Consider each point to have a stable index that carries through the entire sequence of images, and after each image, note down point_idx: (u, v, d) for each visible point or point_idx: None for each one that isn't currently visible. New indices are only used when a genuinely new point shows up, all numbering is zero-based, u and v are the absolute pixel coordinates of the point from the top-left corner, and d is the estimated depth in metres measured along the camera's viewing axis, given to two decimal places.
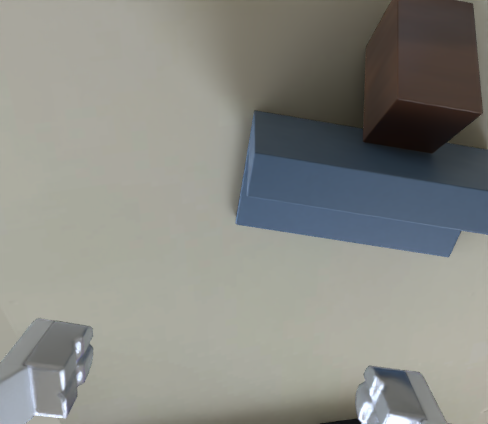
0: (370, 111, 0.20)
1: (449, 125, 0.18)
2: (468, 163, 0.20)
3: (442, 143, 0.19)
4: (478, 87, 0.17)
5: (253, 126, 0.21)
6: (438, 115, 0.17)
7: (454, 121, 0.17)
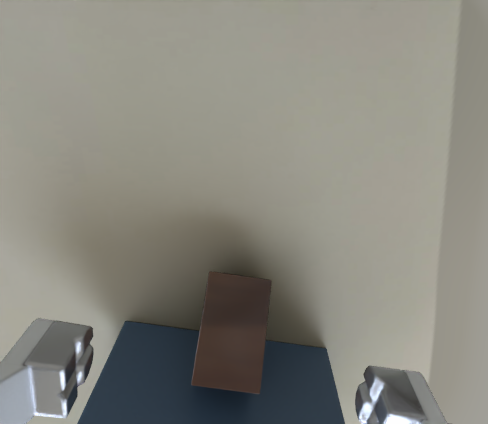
0: None
1: None
2: (276, 400, 0.24)
3: None
4: (260, 367, 0.22)
5: (107, 361, 0.25)
6: None
7: None
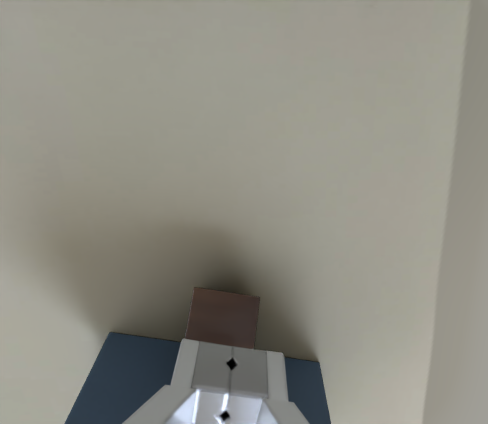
0: None
1: None
2: None
3: None
4: None
5: None
6: None
7: None
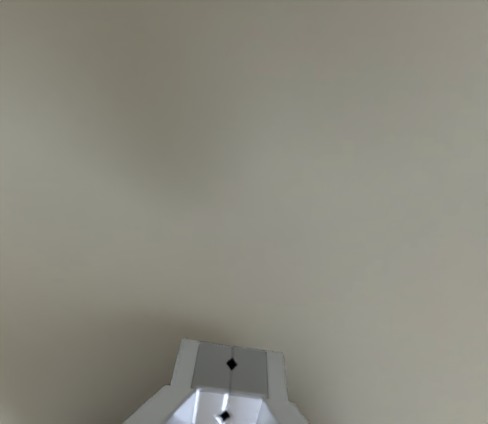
0: None
1: None
2: None
3: None
4: None
5: None
6: None
7: None
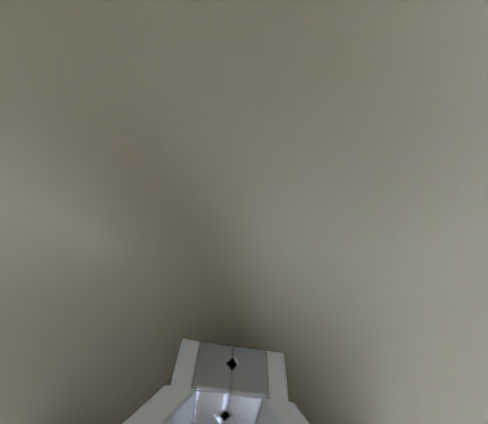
0: None
1: None
2: None
3: None
4: None
5: None
6: None
7: None
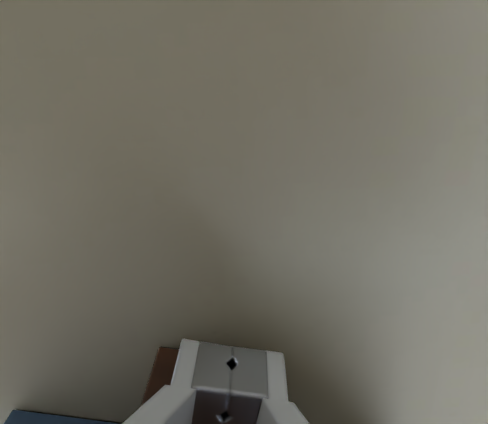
0: None
1: None
2: None
3: None
4: None
5: None
6: None
7: None
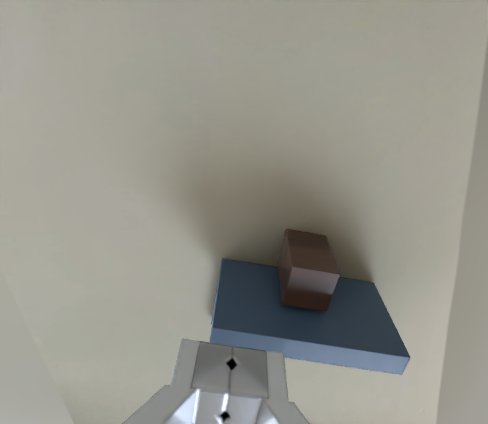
0: (283, 285, 0.32)
1: (326, 285, 0.31)
2: (344, 310, 0.33)
3: (328, 301, 0.31)
4: (335, 264, 0.31)
5: (218, 282, 0.34)
6: (317, 277, 0.30)
7: (328, 281, 0.30)
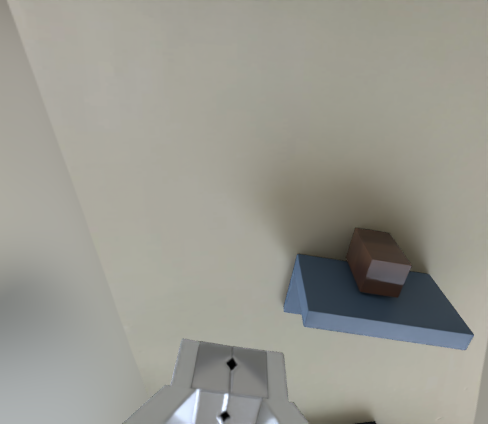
0: (359, 276, 0.38)
1: (399, 274, 0.36)
2: (410, 297, 0.39)
3: (400, 288, 0.37)
4: (405, 257, 0.37)
5: (300, 274, 0.40)
6: (392, 268, 0.36)
7: (401, 271, 0.36)
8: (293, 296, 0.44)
